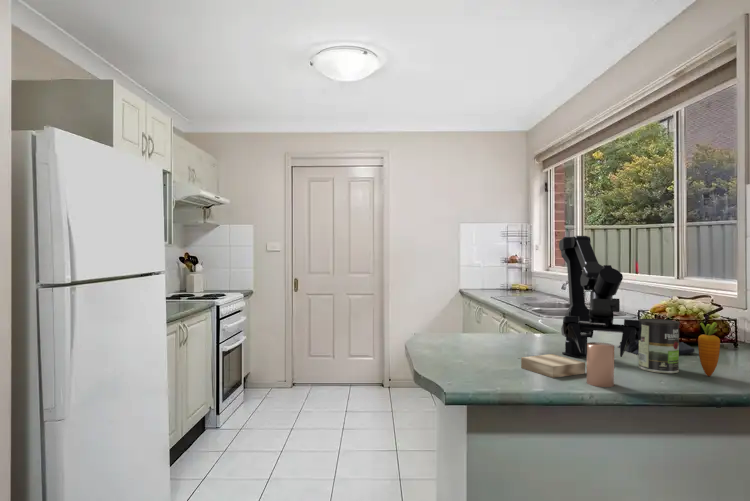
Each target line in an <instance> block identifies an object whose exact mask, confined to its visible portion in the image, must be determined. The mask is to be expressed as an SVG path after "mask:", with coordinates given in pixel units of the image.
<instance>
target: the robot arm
mask: <svg viewBox="0 0 750 501" xmlns="http://www.w3.org/2000/svg"><path fill="white" fill-rule="evenodd" d="M591 243H592V242H591V236H588V235H574V236H563V238H562V239H559V243H558V248H559V251H560V254H561V258H562V259H563V260H564V261H565V263H566V268H567V269H566V270H567V282H568V296H569V298H568V300H569V307H568V309H567V311H566V312H565V314H564V316H563V318H562V326H561V327H560V328H561V329H560V330H561V336H563V337H565V344H564V345H565V347H564V348H565V350H564V351H562V352H561V354H562V355H566V356H569V357H574V358H585V357H586V358H587V343H588V338H593V335H594V331H597V332H603V333H617V334H622V335H621V341H620V342H621V347H620V348H619V349H620V350H619V354H620V355H619V357H620V358H621V357H623V356H624V354H625V352H626V351H625V350H626V348H627V347H628V345H629V344H630V343H634V342H635V341H639V340H641V330H642V324H641V322H640V321H639V319H630V318H629V319H627V318H626V319H625V318H624V319H623V324H617V323H614V313H620V310H621V308H620V307H621V306H620V304H621V303H620V298H615V297H614V298H613V296H616V295H617V293H618V289H619V288H620V286H621V283H622V281H623V279H624V277H623V273H621V272H620V271H619V270H618V269H616V268H614V267H612V265H609V264H605V265H602V264H600V263H599V260H598V258H597V256H596V254H595V251H594V249H593V247H592V244H591ZM585 291H590V293H589V294H590V295H589V299H590V300H589V308H588V307H587V305H586V300H585V299H586V298H585Z"/></svg>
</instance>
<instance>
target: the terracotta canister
mask: <svg viewBox="0 0 750 501" xmlns="http://www.w3.org/2000/svg"><path fill="white" fill-rule="evenodd" d="M586 384H587V385H590V386H593V387H597V388H613V387H614V386H615V345H614V344H611V343H606V342H600V341H599V342H597V341H596V342H595V341H594V342H593V341H591V342H587V356H586Z"/></svg>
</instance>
